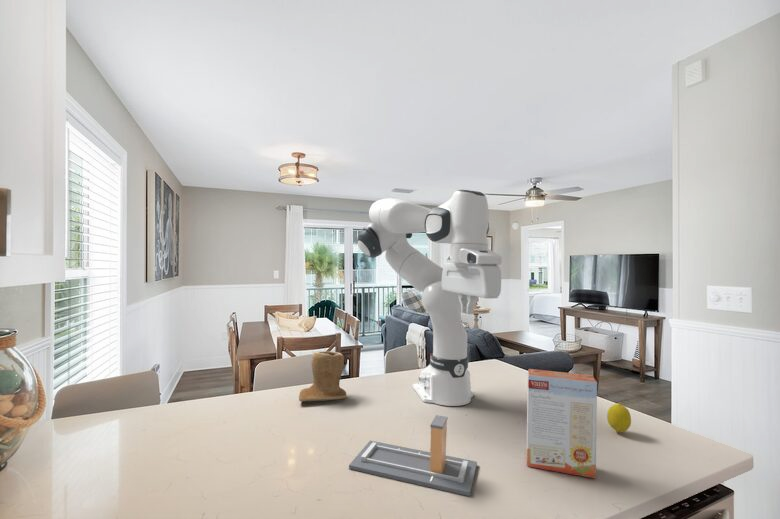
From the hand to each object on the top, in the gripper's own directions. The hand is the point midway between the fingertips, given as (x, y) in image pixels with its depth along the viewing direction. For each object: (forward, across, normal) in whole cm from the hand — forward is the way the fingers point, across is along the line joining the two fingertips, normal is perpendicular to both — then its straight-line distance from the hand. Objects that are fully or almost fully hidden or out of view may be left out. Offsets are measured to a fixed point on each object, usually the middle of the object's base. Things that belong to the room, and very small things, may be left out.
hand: (467, 313), depth 93 cm
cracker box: (+33, +14, +16) cm, 40 cm away
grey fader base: (+33, +3, -15) cm, 37 cm away
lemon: (+33, +7, +45) cm, 56 cm away
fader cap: (+33, +7, -11) cm, 36 cm away
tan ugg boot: (+33, -44, -25) cm, 61 cm away
